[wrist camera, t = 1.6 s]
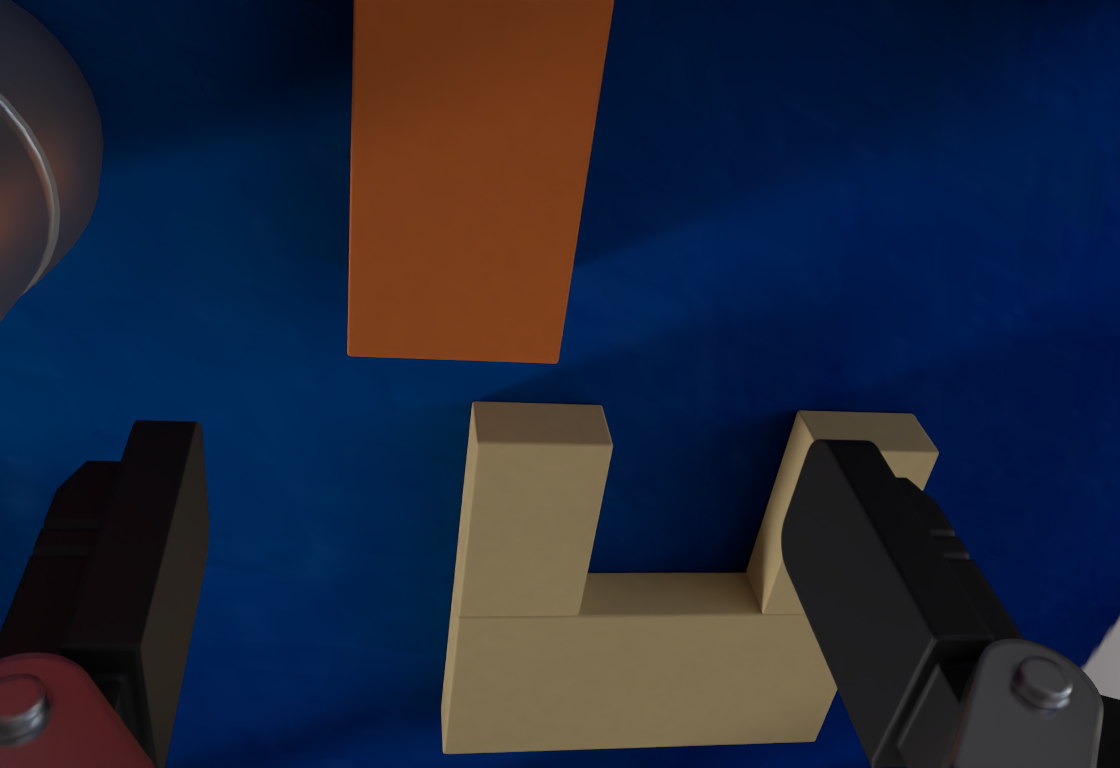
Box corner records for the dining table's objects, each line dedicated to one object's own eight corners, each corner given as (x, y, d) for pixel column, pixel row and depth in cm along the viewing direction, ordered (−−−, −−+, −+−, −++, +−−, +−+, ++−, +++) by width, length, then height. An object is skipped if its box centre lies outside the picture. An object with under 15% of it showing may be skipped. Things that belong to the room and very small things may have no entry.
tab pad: (352, 273, 27) (347, 357, 24) (361, -145, 22) (355, -110, 18) (539, 282, 28) (558, 364, 25) (593, -117, 23) (627, -78, 19)
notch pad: (440, 708, 38) (442, 755, 36) (472, 400, 30) (476, 442, 29) (798, 699, 41) (815, 742, 39) (913, 413, 33) (940, 452, 31)
